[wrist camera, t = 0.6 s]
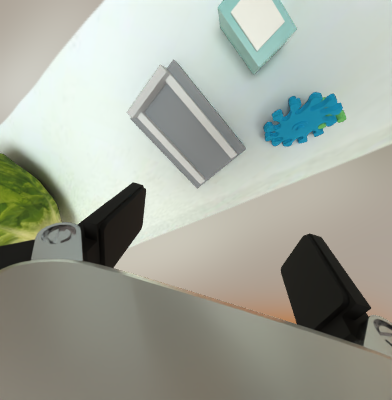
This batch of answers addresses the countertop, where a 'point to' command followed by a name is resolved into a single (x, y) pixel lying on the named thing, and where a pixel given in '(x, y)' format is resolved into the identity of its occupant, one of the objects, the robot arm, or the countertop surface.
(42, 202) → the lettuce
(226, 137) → the rail base
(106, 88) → the countertop surface
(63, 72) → the countertop surface
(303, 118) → the gear
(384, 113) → the countertop surface
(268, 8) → the block
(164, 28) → the countertop surface
